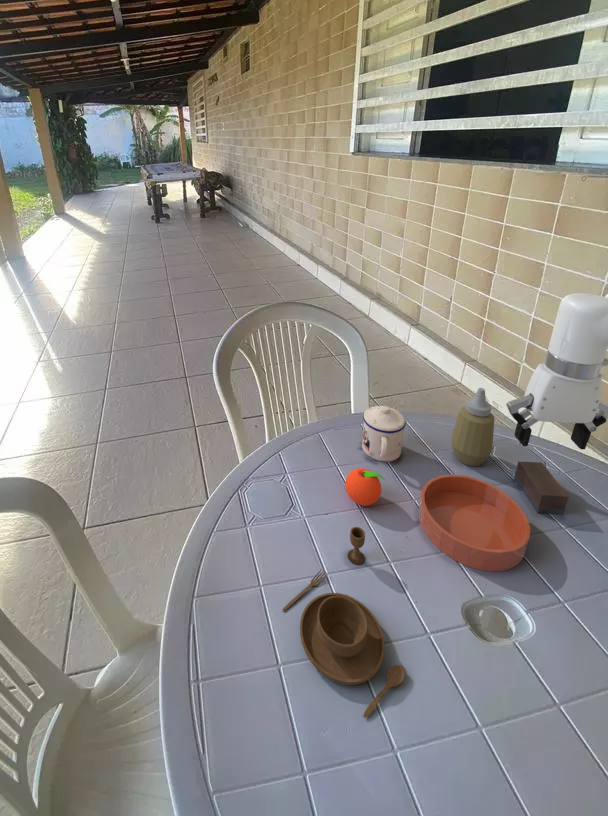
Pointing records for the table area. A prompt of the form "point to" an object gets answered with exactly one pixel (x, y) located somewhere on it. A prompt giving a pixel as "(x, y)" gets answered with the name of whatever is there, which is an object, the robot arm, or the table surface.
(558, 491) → the eraser
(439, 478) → the bowl
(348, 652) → the place setting
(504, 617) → the table surface
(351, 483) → the clementine
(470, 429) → the squeeze bottle
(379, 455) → the teacup with lid
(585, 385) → the robot arm
